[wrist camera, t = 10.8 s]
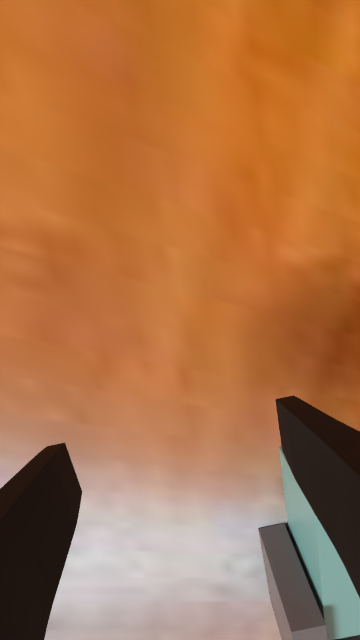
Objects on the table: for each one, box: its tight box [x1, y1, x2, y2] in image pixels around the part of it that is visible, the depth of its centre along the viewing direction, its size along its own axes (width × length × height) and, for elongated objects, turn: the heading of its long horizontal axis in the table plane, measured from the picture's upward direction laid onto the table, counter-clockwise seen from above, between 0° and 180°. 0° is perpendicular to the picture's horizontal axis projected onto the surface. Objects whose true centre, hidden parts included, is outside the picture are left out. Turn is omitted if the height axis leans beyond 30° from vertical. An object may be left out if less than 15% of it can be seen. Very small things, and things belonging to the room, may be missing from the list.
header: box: [258, 523, 360, 640], centre depth 23 cm, size 9×14×7 cm, turn 11°
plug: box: [279, 447, 360, 640], centre depth 22 cm, size 4×10×6 cm, turn 11°
